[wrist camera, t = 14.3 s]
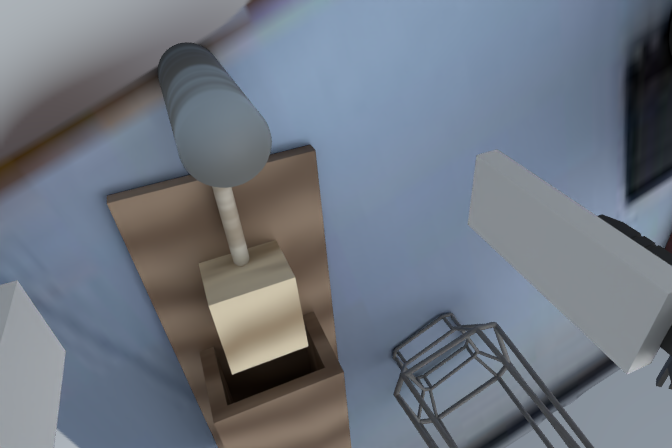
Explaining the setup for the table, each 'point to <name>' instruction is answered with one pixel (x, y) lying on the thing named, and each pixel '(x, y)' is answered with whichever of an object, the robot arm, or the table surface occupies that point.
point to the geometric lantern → (507, 366)
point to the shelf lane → (195, 317)
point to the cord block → (231, 207)
